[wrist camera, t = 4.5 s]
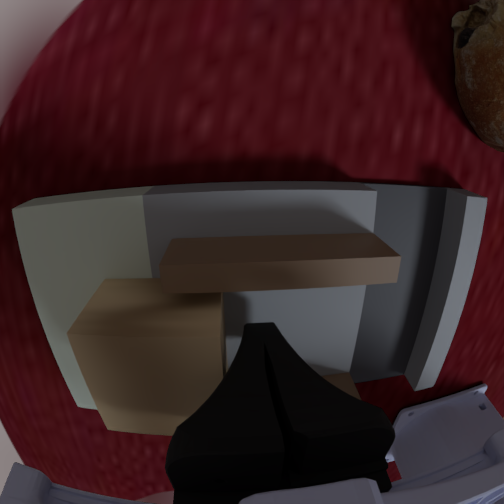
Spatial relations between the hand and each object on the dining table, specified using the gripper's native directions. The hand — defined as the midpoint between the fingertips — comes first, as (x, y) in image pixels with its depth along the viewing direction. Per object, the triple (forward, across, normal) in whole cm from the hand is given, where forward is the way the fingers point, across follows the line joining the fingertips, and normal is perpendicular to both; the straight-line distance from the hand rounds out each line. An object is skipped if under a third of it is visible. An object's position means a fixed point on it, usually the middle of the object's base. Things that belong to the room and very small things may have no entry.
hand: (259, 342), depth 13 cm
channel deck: (+3, -1, 0) cm, 3 cm away
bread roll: (+3, -15, -13) cm, 20 cm away
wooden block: (+1, +4, 0) cm, 4 cm away
